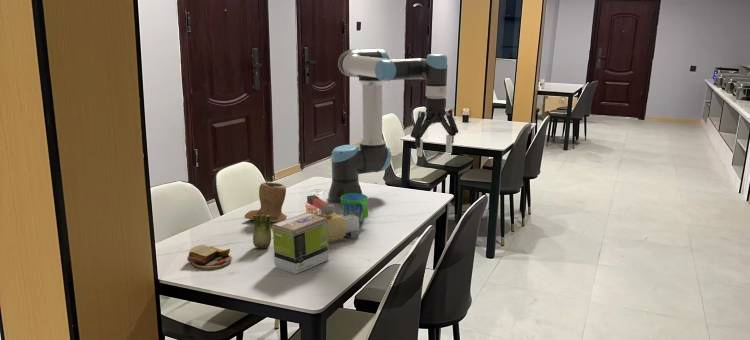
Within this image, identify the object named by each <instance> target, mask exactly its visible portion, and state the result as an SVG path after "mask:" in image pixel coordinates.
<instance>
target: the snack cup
mask: <svg viewBox="0 0 750 340" xmlns="http://www.w3.org/2000/svg"><path fill="white" fill-rule="evenodd" d="M368 200H369V196H367V194H363V193H362V194H359V193H349V194H344V195H342V196H341V198H340V201H341V203H339V204H340V205H339V206H340V209H342V214H343V215H342V216H345V215H350V214H353V215H355V216H357V217H359V225H360V224H361V223H363V222H364V220H365V219H367V218H368V217H369V210H368V204H367V203H368Z"/></svg>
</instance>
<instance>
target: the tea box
mask: <svg viewBox="0 0 750 340" xmlns="http://www.w3.org/2000/svg"><path fill="white" fill-rule="evenodd" d="M316 215H317V214H311V213H307V212H304V213H302V214H298V215H296V216H292V217H290V218H286V219H285V220H283V221H281V222H274V223H272V239H273V254H274V255H273V257H274V267H275V268H278V269H280V270H282V271H285V272H289V273H291V274H294V275H297V274H298V273H299V274H300V273H301V272H303V271H306V270H308V269H311V268H312V267H315V266H317V265H320V264H322V263H324V262H327V261H329V259H330V258H329V257H330V255H329V244H328V231H327V218H324V217H320V216H316Z"/></svg>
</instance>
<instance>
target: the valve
mask: <svg viewBox="0 0 750 340" xmlns="http://www.w3.org/2000/svg"><path fill="white" fill-rule="evenodd" d="M315 215H316V216H320V217H324V218H327V231H328V245H332V244H336V243H337V244H338V243H342V242H346V240H347V239H346V238H349V239H350V240H355V239H359V230H360V224H359V217H357V216H355V215H353V214H350V215H345V216H344V215H340V214H338V213H336V212H335V211H334V213H332V214H324V213H321V214H315ZM345 236H346V237H345Z"/></svg>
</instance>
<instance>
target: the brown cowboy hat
mask: <svg viewBox="0 0 750 340" xmlns="http://www.w3.org/2000/svg"><path fill="white" fill-rule="evenodd" d="M286 194H287V187H286V185H284V184H283V183H277V182H267V181H265V182H264V181H263V182H262V183H261V184H260V185H259V188H258V198H259V202H260V208H259V209H254V210H253V209H252V210H249V211H247V212H246V213H245V214H244V216H243V217H244V218H245V219H247V220H253V215H260V219H261V215H265V221H266V218H267V215H269V216H270V223H278V222H281V221H283V220H286V219H288V218H287V215H286V214H285V213H283V212H282V207H283V205H284V202H285V199H286ZM257 220H258V218H257ZM261 220H262V219H261ZM253 221H254V220H253Z"/></svg>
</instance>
